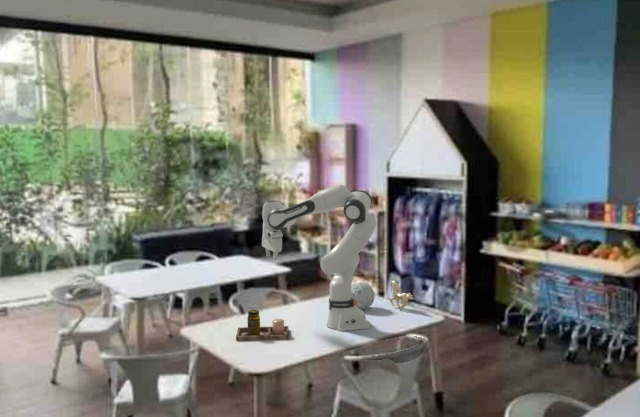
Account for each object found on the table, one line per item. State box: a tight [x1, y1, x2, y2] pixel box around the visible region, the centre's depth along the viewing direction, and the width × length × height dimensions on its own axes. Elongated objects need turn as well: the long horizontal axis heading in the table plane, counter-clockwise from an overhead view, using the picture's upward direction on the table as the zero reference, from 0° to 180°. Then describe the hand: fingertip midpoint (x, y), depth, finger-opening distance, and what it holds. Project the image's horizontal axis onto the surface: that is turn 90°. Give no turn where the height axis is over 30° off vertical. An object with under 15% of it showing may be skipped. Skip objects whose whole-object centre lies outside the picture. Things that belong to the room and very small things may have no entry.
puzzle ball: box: [351, 282, 375, 310], centre depth 325 cm, size 15×15×15 cm
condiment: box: [243, 309, 263, 336], centre depth 279 cm, size 7×8×12 cm
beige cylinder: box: [271, 318, 285, 335], centre depth 280 cm, size 6×6×7 cm
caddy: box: [235, 325, 290, 342], centre depth 280 cm, size 25×14×2 cm, turn 94°
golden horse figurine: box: [388, 277, 414, 311], centre depth 324 cm, size 20×4×17 cm, turn 35°
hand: (271, 258), depth 300 cm, fingers open, 8 cm apart
